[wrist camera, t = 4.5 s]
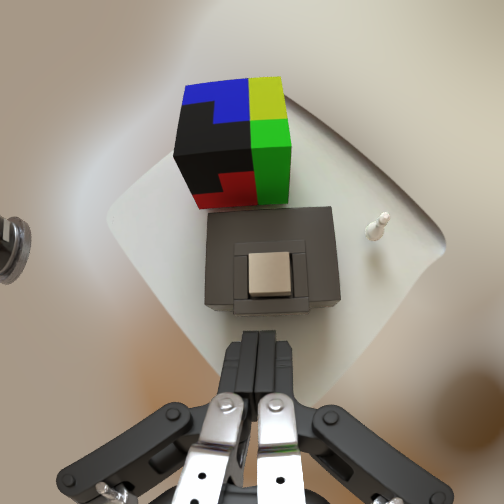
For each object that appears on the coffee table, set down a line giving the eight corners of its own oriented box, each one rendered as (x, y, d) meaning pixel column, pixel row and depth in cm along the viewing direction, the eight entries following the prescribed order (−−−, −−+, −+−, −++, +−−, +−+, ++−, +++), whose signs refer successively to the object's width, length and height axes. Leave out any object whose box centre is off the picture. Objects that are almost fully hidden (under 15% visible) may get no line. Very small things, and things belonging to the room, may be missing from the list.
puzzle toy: (203, 142, 36) (185, 85, 27) (280, 136, 36) (280, 76, 26) (199, 209, 33) (173, 156, 24) (287, 203, 32) (291, 146, 23)
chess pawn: (373, 245, 30) (385, 231, 26) (360, 232, 30) (371, 216, 27) (387, 231, 30) (400, 215, 26) (374, 218, 31) (385, 201, 27)
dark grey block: (215, 321, 29) (198, 314, 24) (217, 229, 33) (202, 204, 27) (334, 317, 28) (345, 309, 22) (326, 223, 31) (333, 196, 26)
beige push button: (251, 297, 24) (248, 293, 22) (251, 259, 25) (248, 253, 24) (290, 295, 24) (290, 291, 22) (289, 257, 25) (289, 251, 23)
